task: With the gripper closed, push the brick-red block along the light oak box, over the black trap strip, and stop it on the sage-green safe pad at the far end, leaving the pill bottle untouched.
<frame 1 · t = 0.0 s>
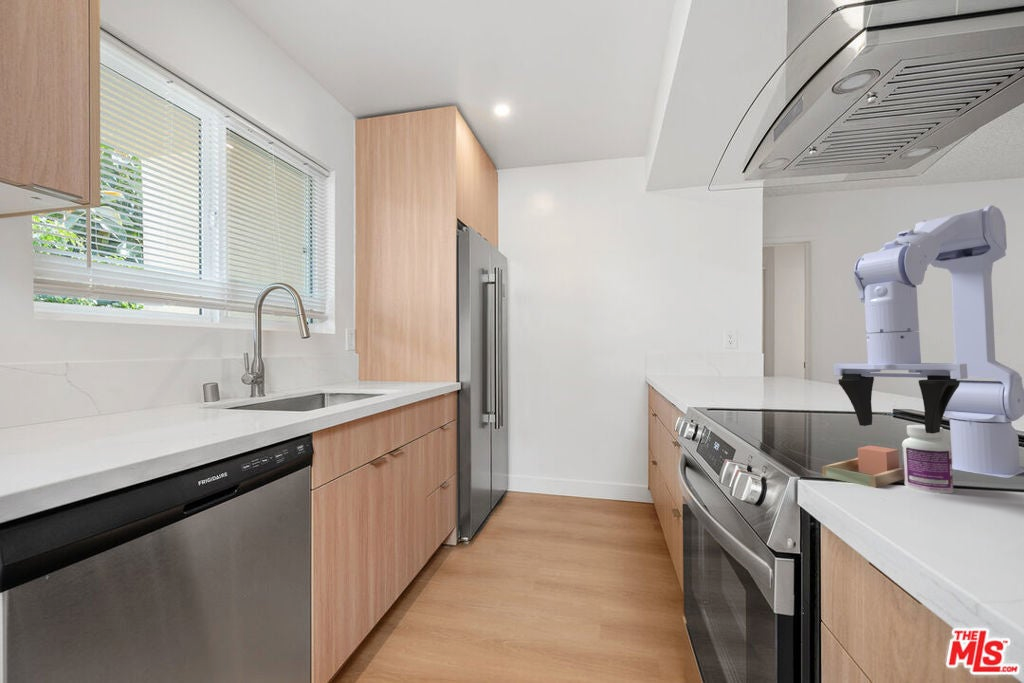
hand: (897, 428, 62), 10 cm above the counter, fingers open, 7 cm apart
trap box: (874, 477, 72), on the counter
pill bottle: (928, 492, 65), on the counter
red block: (879, 472, 73), point 1 cm above the counter, touching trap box
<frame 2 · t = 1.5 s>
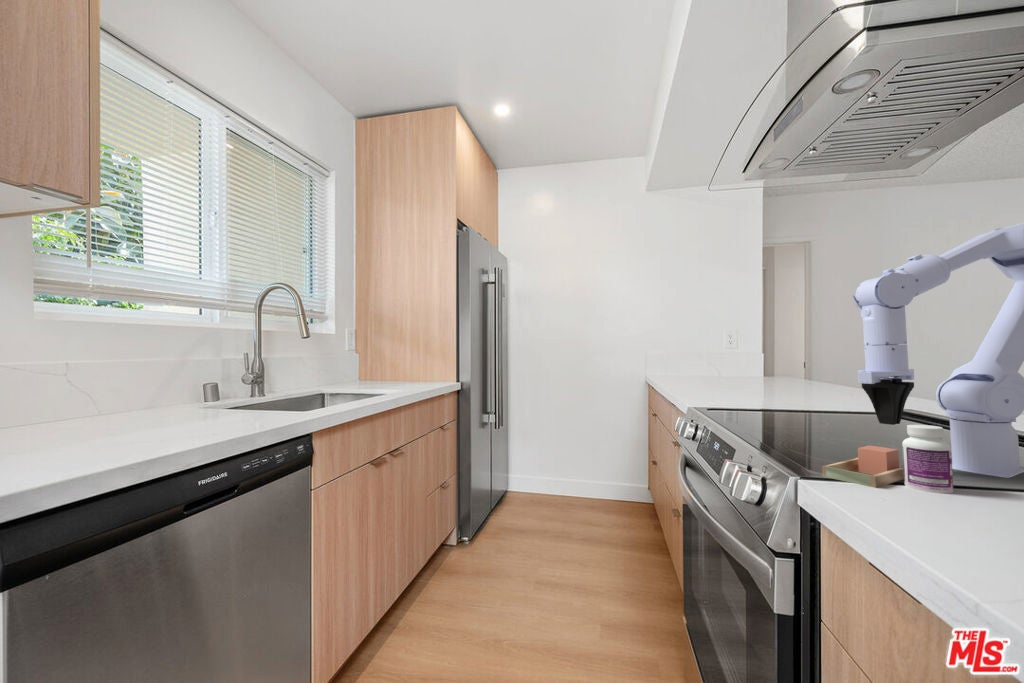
hand: (889, 423, 75), 8 cm above the counter, fingers closed
nothing on the counter moved.
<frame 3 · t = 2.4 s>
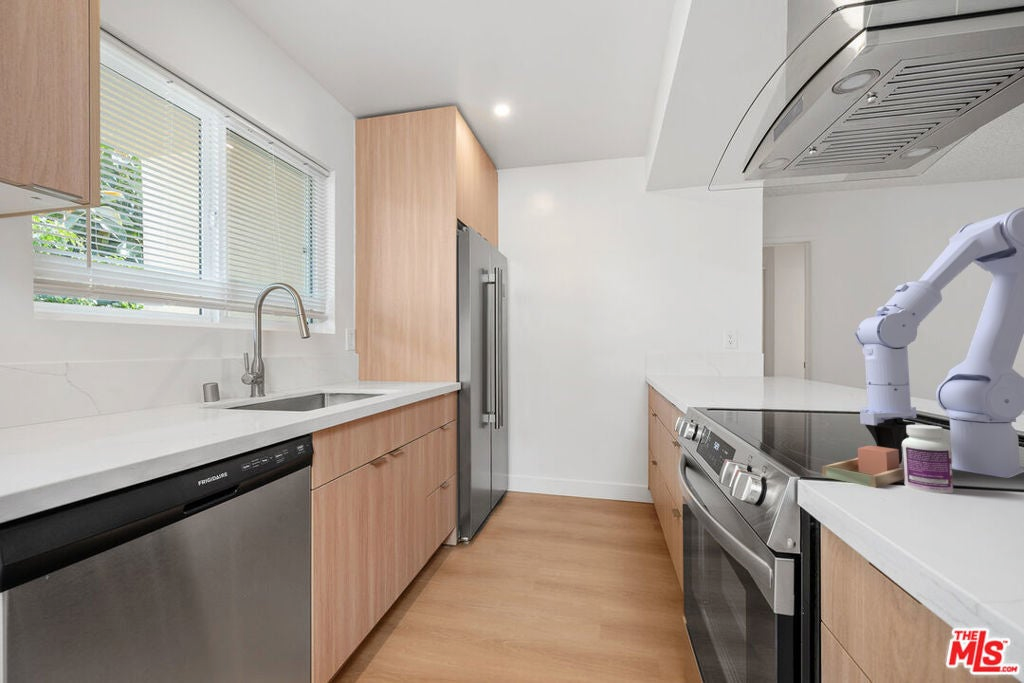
hand: (891, 463, 75), 2 cm above the counter, fingers closed
nothing on the counter moved.
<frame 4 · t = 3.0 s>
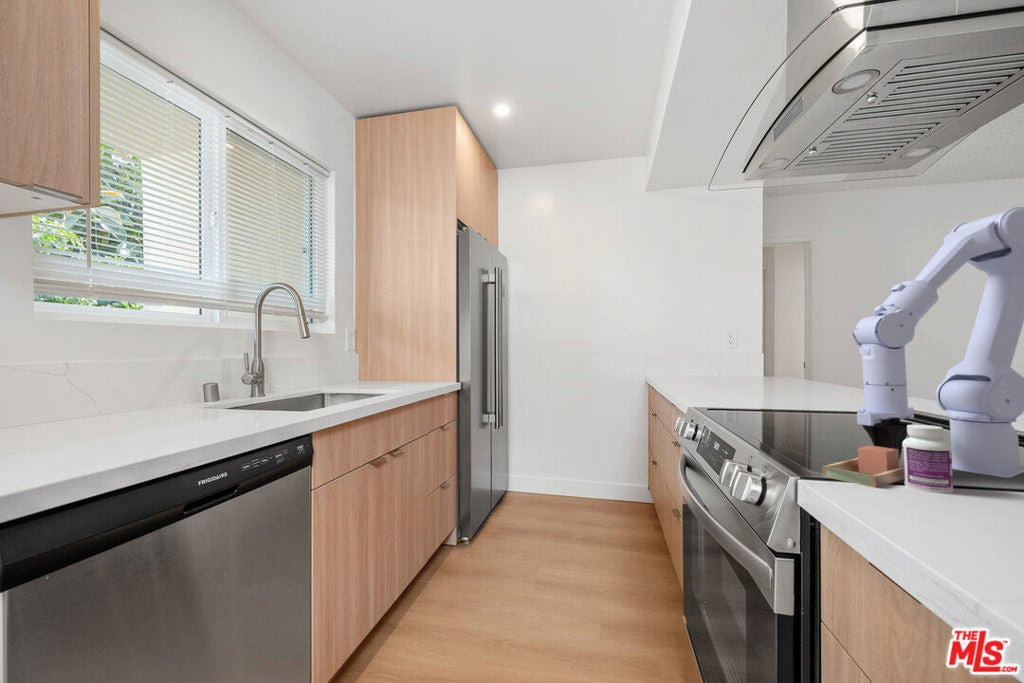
hand: (888, 463, 75), 2 cm above the counter, fingers closed
red block: (879, 472, 73), point 1 cm above the counter, touching gripper, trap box
everything else where it was.
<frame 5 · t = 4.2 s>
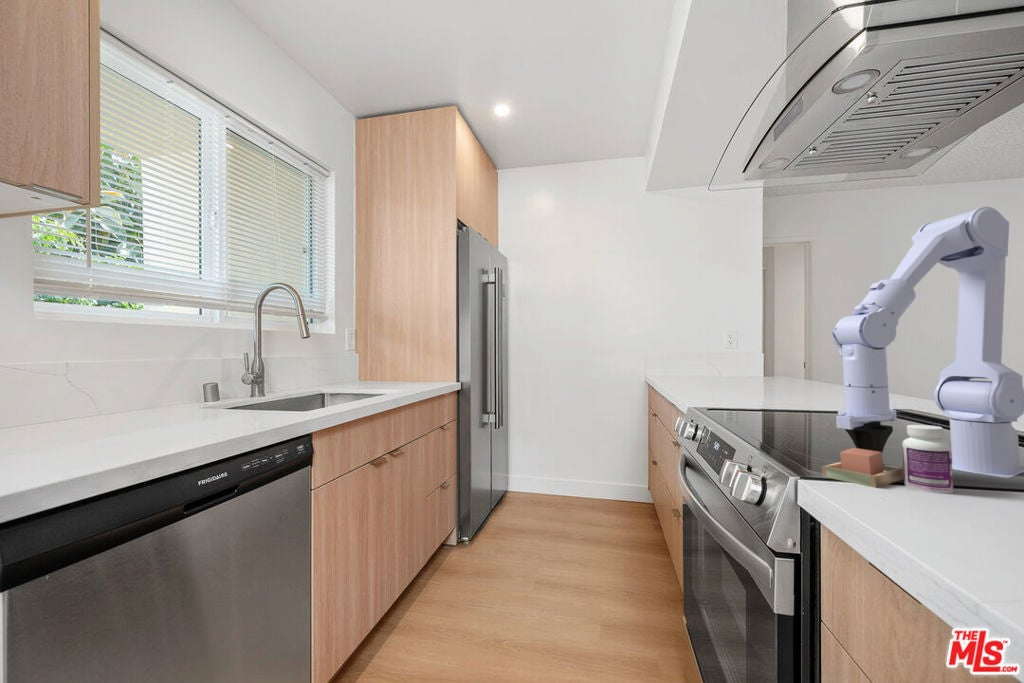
hand: (870, 468, 72), 2 cm above the counter, fingers closed, pressing on red block
red block: (862, 476, 71), point 1 cm above the counter, touching gripper, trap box
everything else where it was.
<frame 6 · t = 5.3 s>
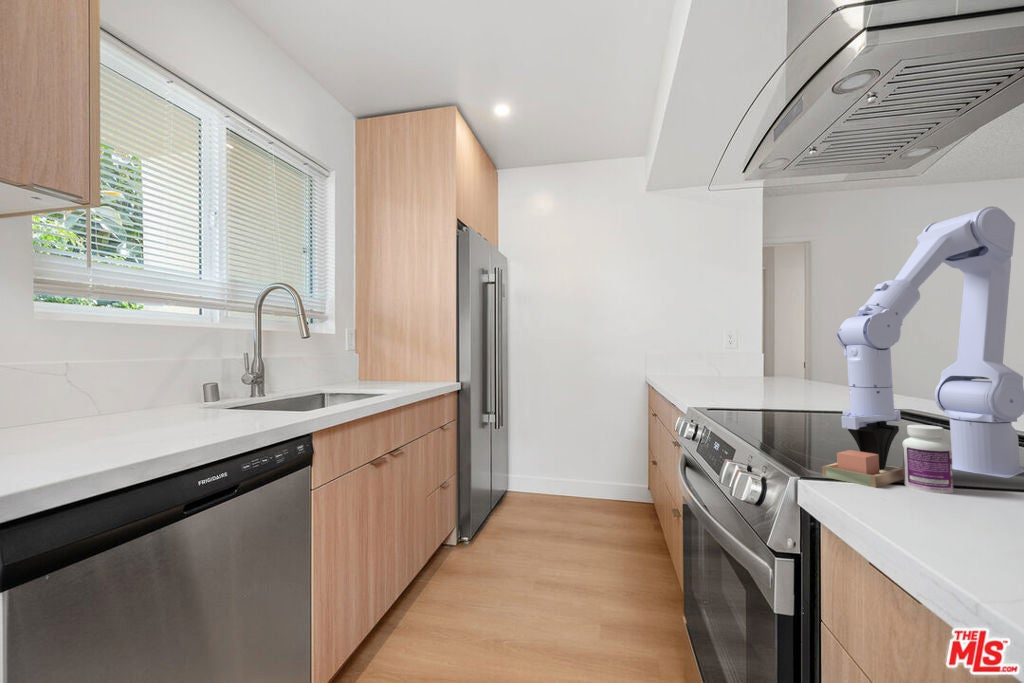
hand: (875, 468, 72), 2 cm above the counter, fingers closed
red block: (858, 478, 70), point 1 cm above the counter, touching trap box
everything else where it was.
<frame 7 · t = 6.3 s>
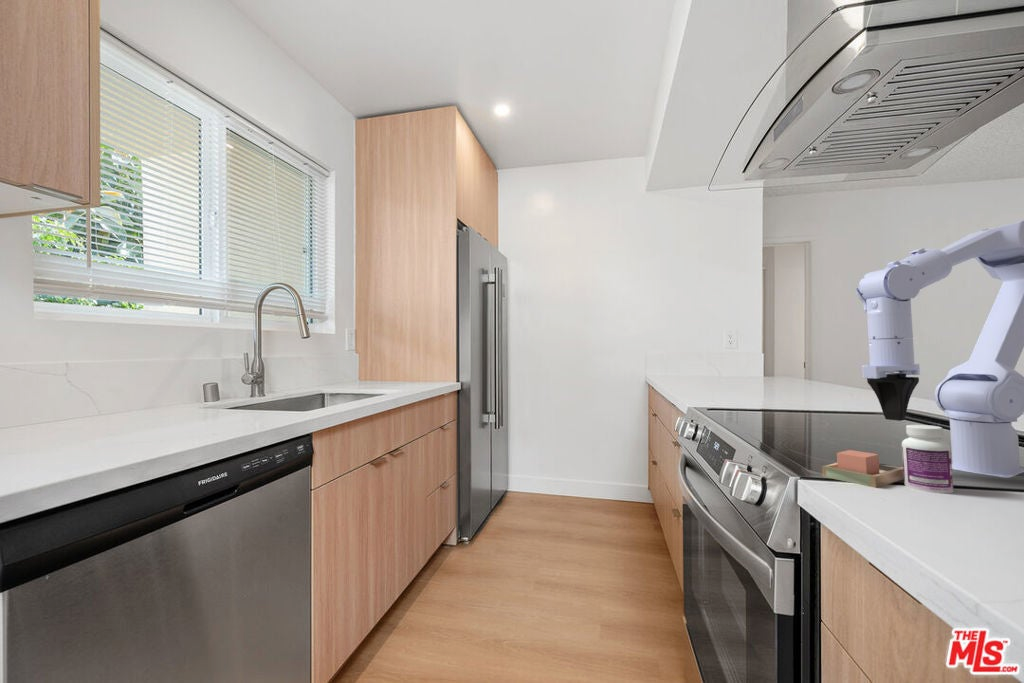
hand: (894, 419, 73), 9 cm above the counter, fingers closed
nothing on the counter moved.
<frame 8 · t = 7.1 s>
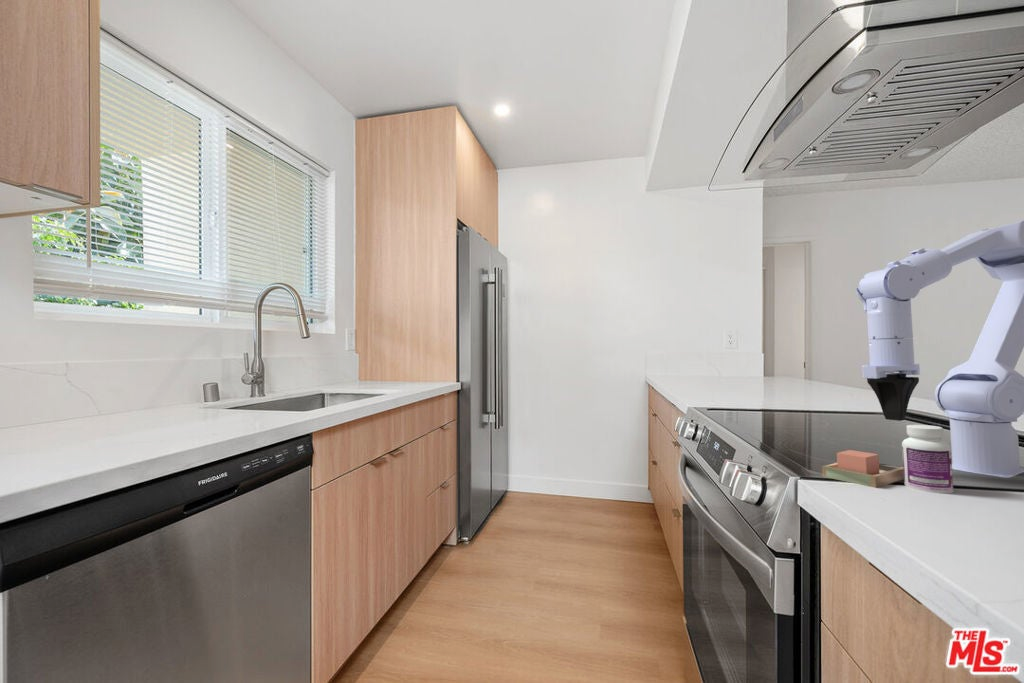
hand: (894, 419, 73), 9 cm above the counter, fingers closed
nothing on the counter moved.
at the end: red block 0.9 cm from the target spot, point 0.6 cm above the counter; red block tilted 0°; pill bottle moved 0.2 cm from its start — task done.
